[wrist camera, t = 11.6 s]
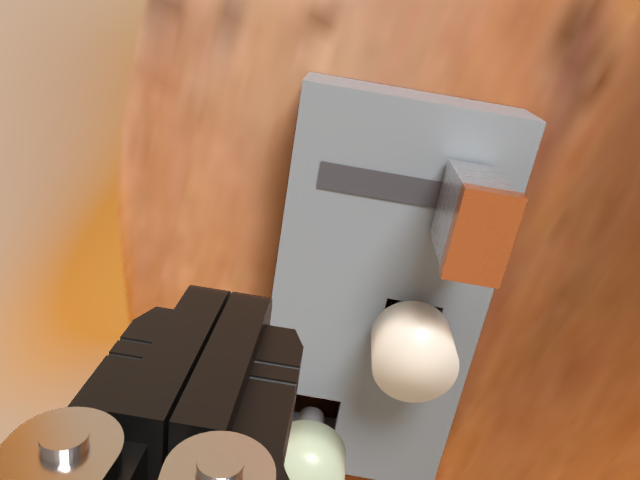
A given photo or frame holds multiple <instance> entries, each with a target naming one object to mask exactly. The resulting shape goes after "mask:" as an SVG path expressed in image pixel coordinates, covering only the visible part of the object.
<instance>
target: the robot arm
mask: <svg viewBox="0 0 640 480" xmlns="http://www.w3.org/2000/svg"><path fill="white" fill-rule="evenodd" d="M271 312H272V298H268V297H262V296H256V295H250V294H244V293H238V292H232V293H231V292H230V291H225V290H219V289H212V288H206V287H200V286H194V285H190V286H189V287H188V289H187V290H186V292H185V293H184V295H183V296H182V298H181V299H180V301H179V302H178V304H177V305H176V307H175V308H174V310H173V309H167V308H161V307H155V308H153V309H151V310H150V311H148V312H146V313H144V314H143V315H141V316H139V317H137V318H136V319H134V320H133V321H132V323H131V324H130V325H129V326H128V328H127V329H126V331H125V332H124V333H123V334H122V336H121V338H120V341H117V342H116V344H115V345H114V346H113V348H112V349H111V350H110V351H109V355H108V356H106V357H105V358H104V359H103V361H102V362H101V363H100V365H99V366H98V367H97V369H96V370H95V372H94V373H93V374H92V375H91V377H90V378H89V379H88V380H87V382H86V383H85V384H84V386H83V387H82V388H81V390H80V391H79V392H78V394H77V395H76V396H75V398H74V399H73V400H72V402H71V403H70V404H69V406H68V407H65V408H59V409H55V410H51V411H47V412H44V413H42V414H39V415H37V416H35V417H33V418H31V419H29V420H27V421H26V422H24V423H23V424H21V425H20V426H19V427H18V428H17V429H15V430H14V431H13V432H12V433H11V434H10V435H9V436H8V437H7V438H6V439H5V440H4V441H3V442H2V443H1V444H0V480H290V479H289V477H288V475H287V473H286V471H285V467H284V463H285V457H286V452H287V447H288V441H289V436H290V431H291V425H292V420H293V415H294V408H295V401H296V395H297V388H298V381H299V375H300V368H301V361H302V355H303V348H304V347H303V345H302V343H301V341H300V339H299V336H298V334H297V332H296V330H295V329H290V328H284V327H278V326H272V325H270V321H271Z"/></svg>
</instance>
